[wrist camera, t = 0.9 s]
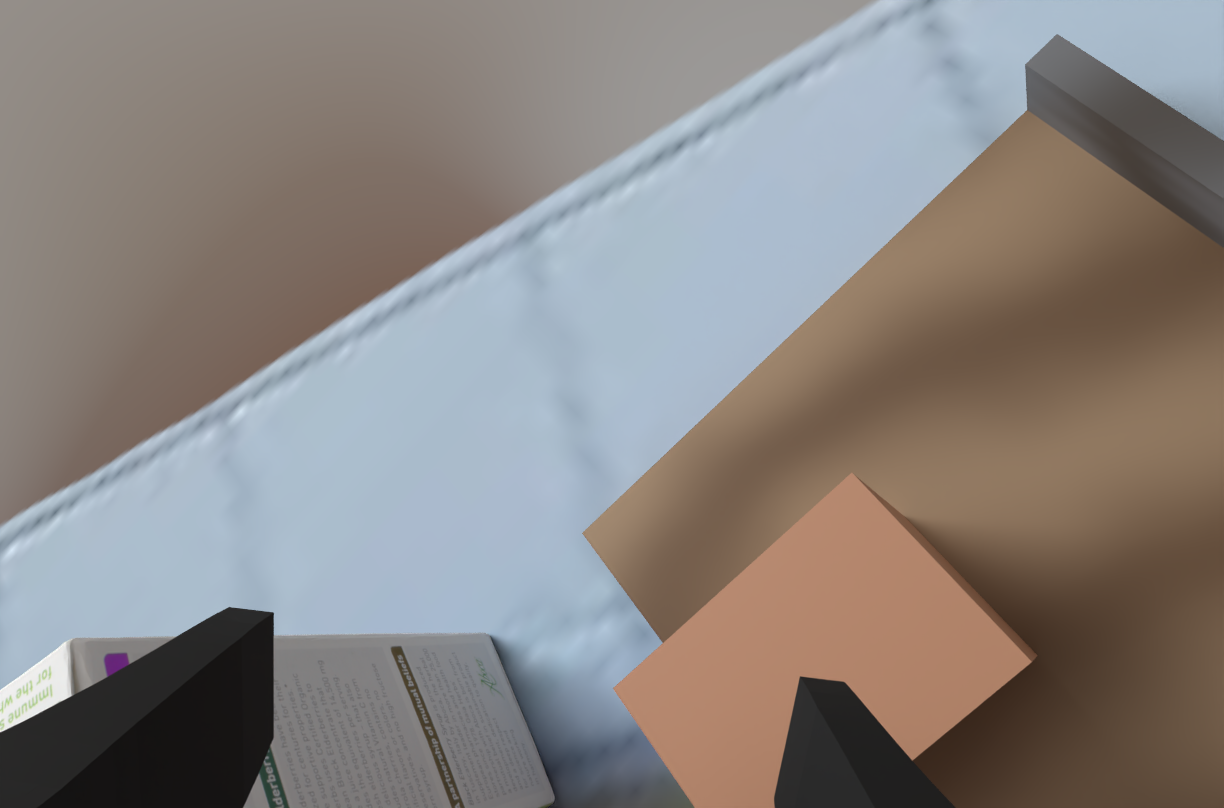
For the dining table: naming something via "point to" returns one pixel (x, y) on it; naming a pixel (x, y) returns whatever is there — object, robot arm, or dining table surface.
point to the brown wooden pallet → (1011, 444)
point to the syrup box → (354, 719)
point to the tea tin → (820, 649)
